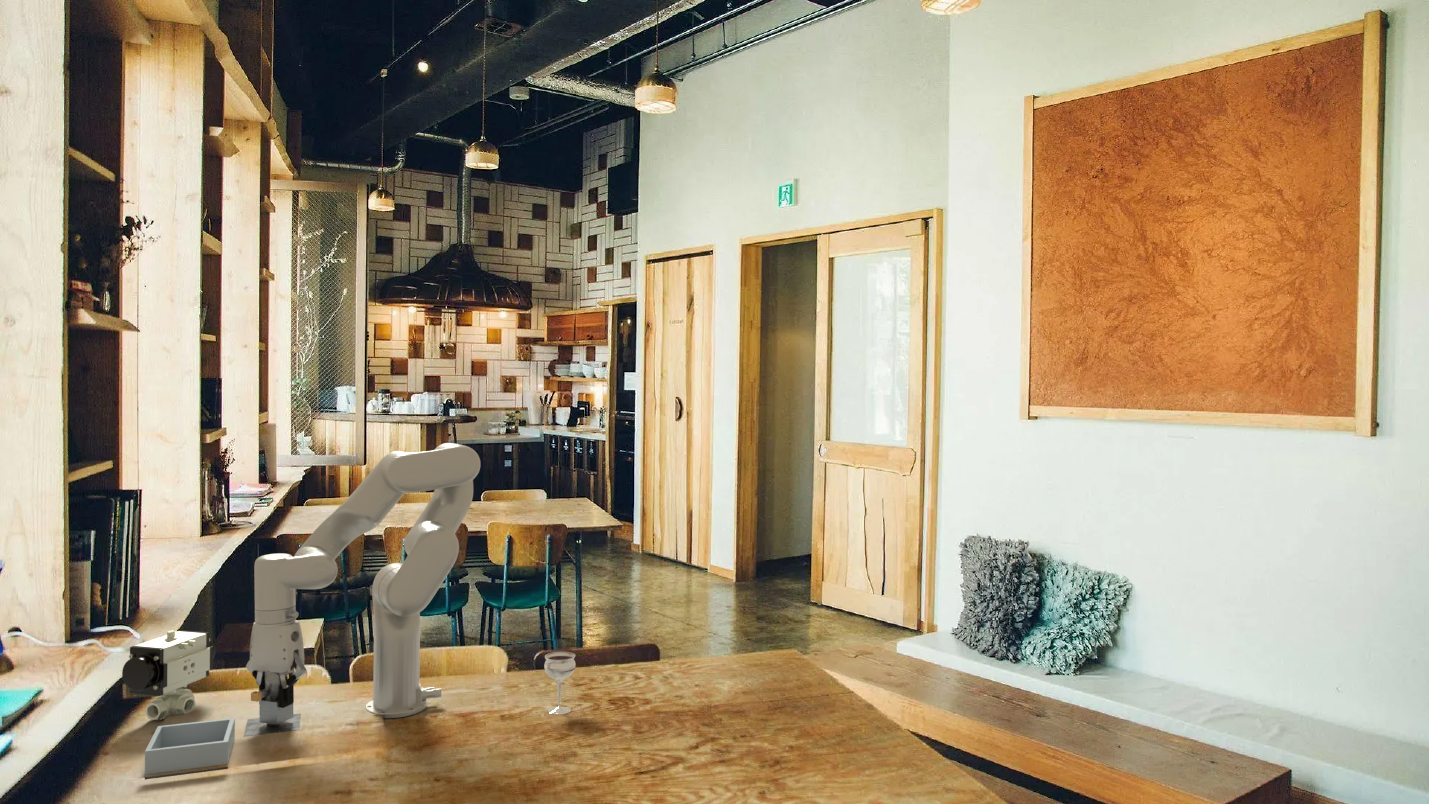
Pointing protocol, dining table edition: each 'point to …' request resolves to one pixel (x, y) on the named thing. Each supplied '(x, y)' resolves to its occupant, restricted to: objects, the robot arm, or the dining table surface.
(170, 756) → the tub
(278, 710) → the grey upright piece
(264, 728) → the stud plate
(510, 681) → the dining table surface
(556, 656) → the wineglass
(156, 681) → the ball valve
